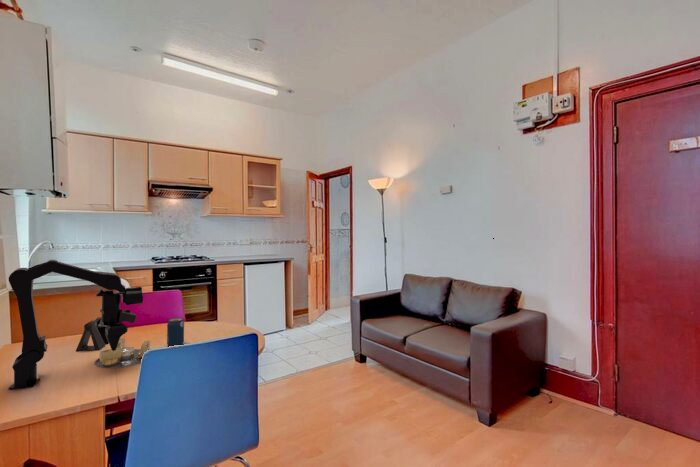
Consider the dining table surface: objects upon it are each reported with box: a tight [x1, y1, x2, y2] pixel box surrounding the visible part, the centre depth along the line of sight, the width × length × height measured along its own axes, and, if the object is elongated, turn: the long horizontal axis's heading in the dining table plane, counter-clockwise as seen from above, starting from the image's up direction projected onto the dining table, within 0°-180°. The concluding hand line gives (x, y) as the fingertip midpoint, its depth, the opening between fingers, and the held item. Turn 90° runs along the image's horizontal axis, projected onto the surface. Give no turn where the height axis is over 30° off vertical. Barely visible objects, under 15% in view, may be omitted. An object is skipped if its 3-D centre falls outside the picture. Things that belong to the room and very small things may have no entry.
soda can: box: [166, 317, 185, 347], centre depth 161 cm, size 7×7×12 cm
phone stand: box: [75, 319, 106, 352], centre depth 154 cm, size 9×6×12 cm, turn 103°
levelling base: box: [94, 337, 151, 369], centre depth 141 cm, size 20×20×7 cm
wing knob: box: [99, 346, 122, 367], centre depth 134 cm, size 7×5×6 cm
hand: (110, 347), depth 134 cm, fingers open, 9 cm apart
